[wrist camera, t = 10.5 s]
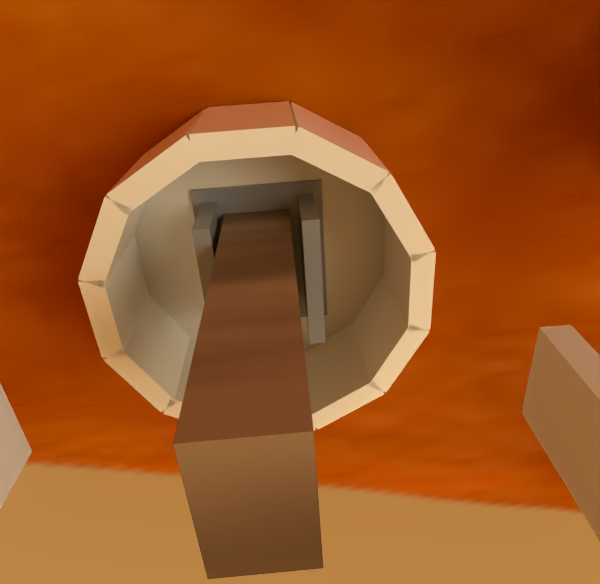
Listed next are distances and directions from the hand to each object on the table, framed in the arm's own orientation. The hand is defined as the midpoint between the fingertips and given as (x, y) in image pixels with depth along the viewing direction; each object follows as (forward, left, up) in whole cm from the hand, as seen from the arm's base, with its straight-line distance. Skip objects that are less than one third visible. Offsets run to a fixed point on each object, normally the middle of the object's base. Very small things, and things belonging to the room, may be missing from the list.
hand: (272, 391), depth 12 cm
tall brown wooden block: (0, 0, -9) cm, 9 cm away
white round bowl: (0, 0, -10) cm, 10 cm away
